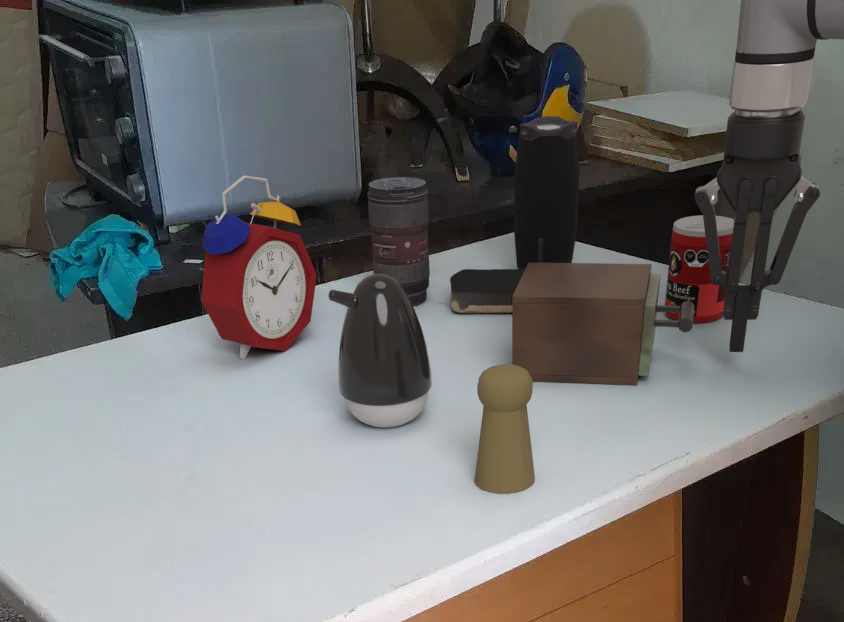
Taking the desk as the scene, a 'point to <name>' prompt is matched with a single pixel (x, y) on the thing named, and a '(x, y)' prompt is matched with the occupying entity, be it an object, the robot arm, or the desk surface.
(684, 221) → the canned food
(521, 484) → the tan game pawn
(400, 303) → the pump dispenser
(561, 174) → the portable speaker
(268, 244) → the alarm clock
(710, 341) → the desk surface
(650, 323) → the drawer
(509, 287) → the scrub brush
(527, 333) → the cabinet
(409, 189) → the camera lens
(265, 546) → the desk surface
